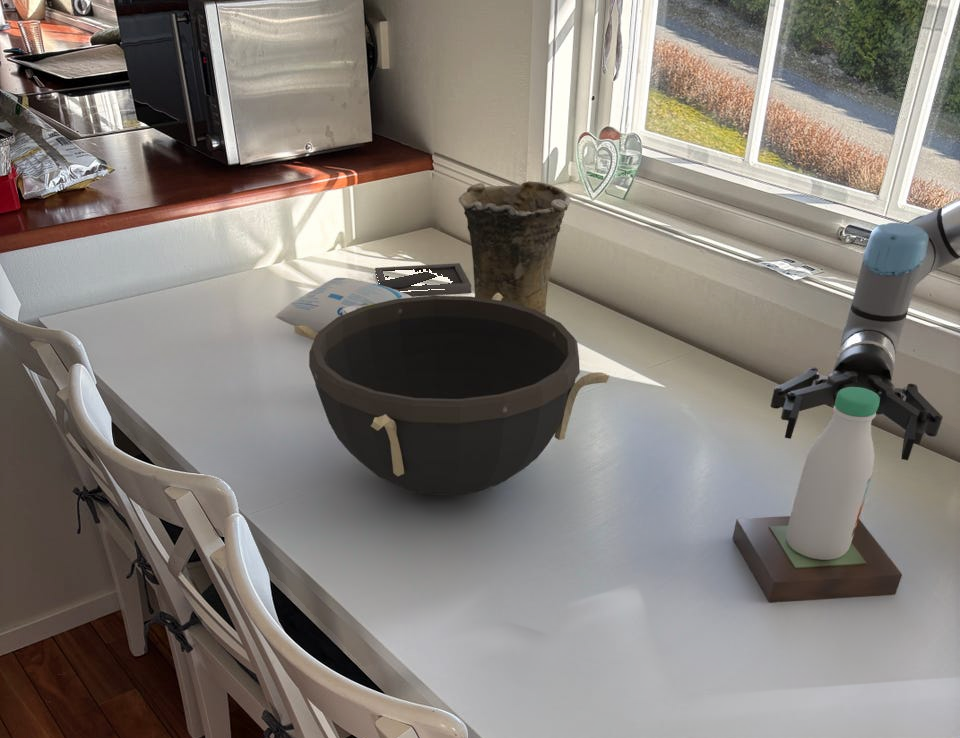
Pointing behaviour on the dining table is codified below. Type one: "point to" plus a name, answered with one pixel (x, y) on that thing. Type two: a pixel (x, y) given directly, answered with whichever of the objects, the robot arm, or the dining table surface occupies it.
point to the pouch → (334, 302)
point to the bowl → (446, 388)
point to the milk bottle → (835, 479)
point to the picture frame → (447, 270)
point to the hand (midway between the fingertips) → (848, 438)
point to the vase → (514, 239)
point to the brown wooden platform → (813, 564)
